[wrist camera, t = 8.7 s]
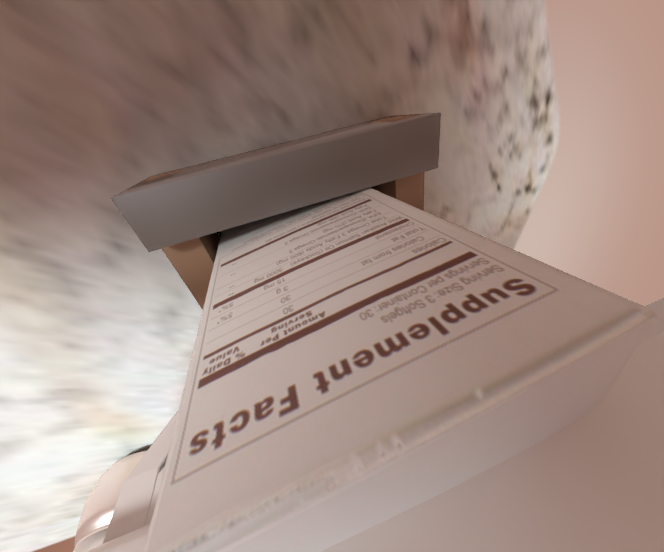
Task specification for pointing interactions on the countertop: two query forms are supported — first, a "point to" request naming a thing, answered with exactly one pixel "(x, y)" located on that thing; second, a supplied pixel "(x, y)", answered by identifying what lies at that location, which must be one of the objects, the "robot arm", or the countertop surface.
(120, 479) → the plastic bottle
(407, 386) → the supplement box
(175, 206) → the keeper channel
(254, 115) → the countertop surface
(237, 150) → the countertop surface
